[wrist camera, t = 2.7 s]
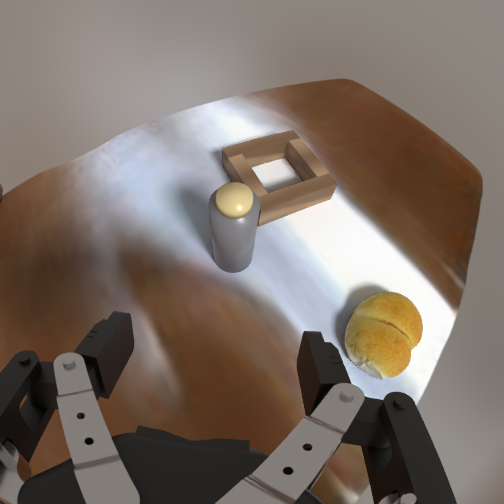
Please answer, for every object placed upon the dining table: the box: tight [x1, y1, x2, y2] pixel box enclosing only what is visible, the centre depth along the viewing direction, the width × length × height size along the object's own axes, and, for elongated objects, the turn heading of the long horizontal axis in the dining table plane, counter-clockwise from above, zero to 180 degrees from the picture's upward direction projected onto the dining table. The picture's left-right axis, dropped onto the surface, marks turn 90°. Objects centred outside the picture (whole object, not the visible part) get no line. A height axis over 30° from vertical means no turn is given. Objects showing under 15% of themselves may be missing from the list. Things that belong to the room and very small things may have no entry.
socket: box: [222, 130, 337, 226], centre depth 34 cm, size 10×10×3 cm
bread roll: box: [344, 292, 423, 380], centre depth 26 cm, size 8×9×4 cm
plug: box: [209, 182, 260, 273], centre depth 26 cm, size 4×4×10 cm
